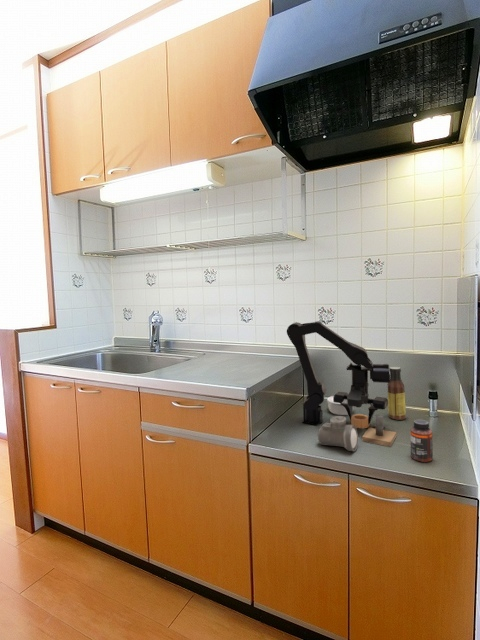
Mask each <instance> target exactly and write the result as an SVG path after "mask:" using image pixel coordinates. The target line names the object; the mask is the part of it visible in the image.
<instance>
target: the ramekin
mask: <svg viewBox="0 0 480 640" xmlns="http://www.w3.org/2000/svg"><path fill="white" fill-rule="evenodd" d="M333 397H334V395H331V396H328V397H327V399H326V402H327V405H328V410H329V411H330V412H331V413H332V414H334V415H335V416H349V415H348V413H347V410H346V409H345V407H344V406H343V405H341V404H340V403H336V402H333ZM354 409H355V406H353V411H354Z"/></svg>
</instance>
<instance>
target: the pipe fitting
mask: <svg viewBox="0 0 480 640" xmlns="http://www.w3.org/2000/svg"><path fill="white" fill-rule="evenodd" d="M317 439H318V442H319V443H320V445H322V446H332V447H342V448H344V449H345V450H347V451H348V452H356V450H357V448H358V445H359V433H358V428H356V426H355V425H351V424H347V418H346V417H345V416H344V415H335V416H333V417H330V419H329V422H324V423H323V424H322V426H320V427H319V430H318V431H317Z"/></svg>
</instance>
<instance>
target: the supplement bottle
mask: <svg viewBox="0 0 480 640" xmlns="http://www.w3.org/2000/svg"><path fill="white" fill-rule="evenodd" d="M429 426H430V422H429V421H427V420H425V419H421V418H420V419H415V420H414V421H413V426H412V427H410V457H411V458H412V459H413V460H414V461H417V462H421V463H427V462H431V461H433V456H434V455H433V449H434V448H433V447H434V445H433V430H432V429H431V428H430V427H429Z"/></svg>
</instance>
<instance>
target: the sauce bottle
mask: <svg viewBox="0 0 480 640" xmlns="http://www.w3.org/2000/svg"><path fill="white" fill-rule="evenodd" d="M401 372H402V369H401V367H400V366H389V374H390V383H386V384H387V400H388V406H387V407H388V408H387V409H388V410H387V411H388V417H389V418H390V419H392V420H397V421H402V420H405V419H406V414H407V411H406V410H407V409H406V390H405V385H404V383H403V381H402V375H401Z"/></svg>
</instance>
